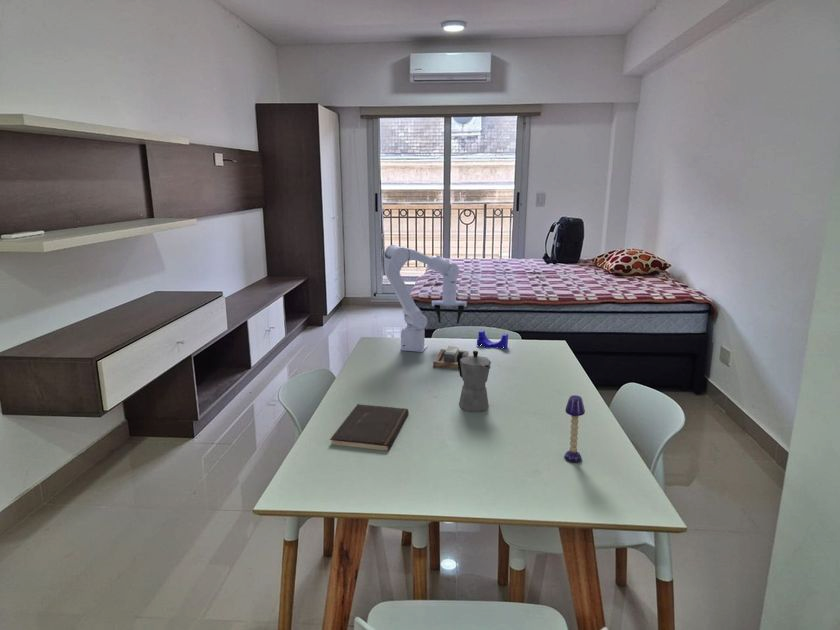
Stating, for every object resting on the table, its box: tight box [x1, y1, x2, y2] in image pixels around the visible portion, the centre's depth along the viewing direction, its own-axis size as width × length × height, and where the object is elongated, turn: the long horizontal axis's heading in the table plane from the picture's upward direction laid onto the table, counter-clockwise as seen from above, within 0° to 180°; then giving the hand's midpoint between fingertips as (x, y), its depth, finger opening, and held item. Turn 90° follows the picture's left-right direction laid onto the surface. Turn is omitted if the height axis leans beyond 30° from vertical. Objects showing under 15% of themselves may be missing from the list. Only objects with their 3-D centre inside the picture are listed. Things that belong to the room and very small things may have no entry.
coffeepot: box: [457, 350, 492, 413], centre depth 166 cm, size 15×9×18 cm, turn 33°
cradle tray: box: [432, 348, 469, 370], centre depth 207 cm, size 11×16×2 cm
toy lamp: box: [563, 394, 586, 464], centre depth 134 cm, size 5×5×17 cm
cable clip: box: [476, 329, 509, 350], centre depth 226 cm, size 12×4×6 cm, turn 62°
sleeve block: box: [444, 346, 460, 362], centre depth 207 cm, size 10×4×4 cm, turn 167°
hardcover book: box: [329, 403, 410, 452], centre depth 152 cm, size 16×23×2 cm
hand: (448, 322), depth 227 cm, fingers open, 7 cm apart
